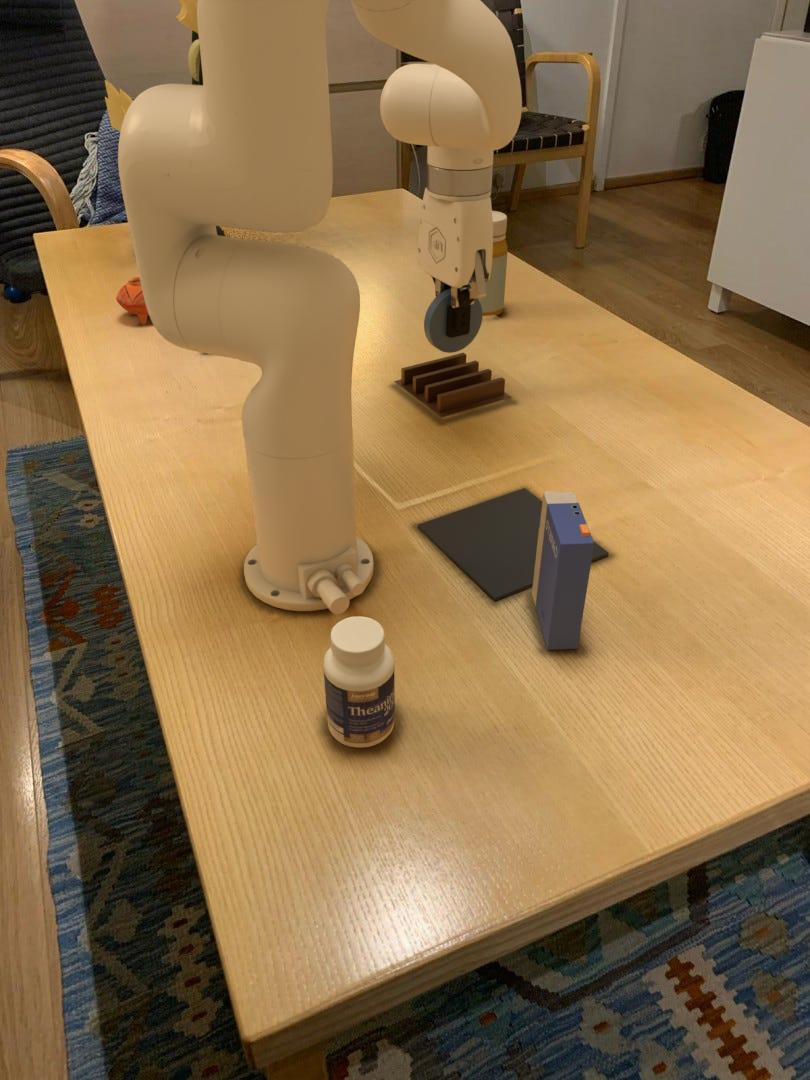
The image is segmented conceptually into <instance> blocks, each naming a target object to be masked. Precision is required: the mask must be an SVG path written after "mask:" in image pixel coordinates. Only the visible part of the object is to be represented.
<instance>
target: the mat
mask: <svg viewBox="0 0 810 1080" xmlns="http://www.w3.org/2000/svg"><path fill="white" fill-rule="evenodd" d="M542 502H543V500H541V499H539V498H538V496H536V495H534V493H533V492H531V491H529V490H528V489H527V488H525V487H523V488H521V489H517V490H515V491H512V492H508V493H506V494H503V495H500V496H496V497H493V498H491V499H488V500H485V501H481V502H480V503H476V504H474V505H471V506H467V507H464V508H462V509H459V510H456V511H453V512H451V513H447V514H444V515H441V516H438V517H435V518H433V519H429V520H427V521H424V522H421V523H418V524H417V529H418V530H419V531H420V532H422V533H423V534H424V536H426V537H427V538H428V539H429V540H430V541H431V542H432V543H433V544H434V545H435V546H436V547H437V548H439V550H440V551H441V552H442V553H444V554H445V555H446V557H448V558H449V559H450V560H451V561H452V562H453V563H454V564H455V565H456V566H457V567H458V568H459V569H460V570H461V571H462V572H463V573H464V574H466V575H467V577H468V578H470V579H471V580H472V581H473V582H474V583H475V585H477V586H478V587H479V588H480V589H481V590H482V591H483V592H484V593H485V594H486V595H487V596H488V597H489V598H491V600H492V601H494V602H497V601H499V600H502V599H505V598H507V597H509V596H511V595H515V594H516V593H519V592H522V591H524V590H526V589H530V588H531V587H532V588H533V579H534V570H535V561H536V552H537V543H538V534H539V528H540V520H541V511H542ZM608 556H609V551H607V550H606V549H605V548H604V547H602V546H600V544H598V543H597V542H596V541H594V549H593V555H592V561H591V563H594V562H597V561H599V560H601V559H603V558H606V557H608Z"/></svg>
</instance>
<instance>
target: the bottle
mask: <svg viewBox="0 0 810 1080" xmlns="http://www.w3.org/2000/svg"><path fill="white" fill-rule="evenodd" d="M492 219H493V256H492V268H491V275H490V278H489V280H488V282H486V283H485V284H486V292H487V294H486V296H485V297H481V298H478V300H479V301H480V304H481V306H482V312H483V317H485V316H487V317H488V316H496V317H498V316H500V314H501V313H502V312H503V311H504V306H505V293H506V292H505V291H506V279H507V265H508V253H509V252H508V251H509V249H508V247H509V246H508V244H507V240H506V237H507V235H506V234H507V227H508V226H507V225H508V215H507V214H505V213H504V212H501V211H497V210H492ZM463 289H466V287H465V288H463Z"/></svg>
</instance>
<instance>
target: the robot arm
mask: <svg viewBox="0 0 810 1080" xmlns="http://www.w3.org/2000/svg"><path fill="white" fill-rule="evenodd" d="M349 1H350V3H351V6H352V8H353V11H354V13H355V16H356V18H357V20H358V22H359V23H360V25H361V26H362V28H363V29H365V31H366V32H368V33H369V34H370V35H372V36H373V37H374V38H375V39H377V40H380V41H381V42H383V43H385V44H387V45H388V46H391V47H393V48H394V49H397V50H399V51H400V52H403V53H405V54H407V55H410V56H412V57H416V58H418V59H420V60H422V61H426V62H428V63H429V64H428V63H409V64H405V65H403V66H400V67H399V68H397V69H396V70H394V71H393V73H391V74H390V76H389V77H388V78H387V80H386V81H385V84H384V86H383V88H382V91H381V95H380V101H379V112H380V118H381V121H382V124H383V126H384V128H385V131H387V133H388V134H389V135H390V136H391V137H393V139H395V140H397V141H400V142H401V143H406V144H410V145H416V146H417V145H418V146H426V147H427V154H426V155H427V156H426V187H425V188H424V192H423V197H422V202H421V208H420V215H419V224H418V225H419V226H418V228H419V229H418V241H417V265H418V266H419V269H421V270H422V271H423V272H424V273H426V274H427V275H429V276H430V277H431V278H432V281H433V284H434V290H435V291H434V296H435V298H436V297H437V296H438V295H439V294H440V293H442V292H443V291H445V290H447V289H450V288H451V306H447V330H446V335H447V336H448V337H449V338H453V337H457V336H462V335H466V334H468V333H469V332H470V315H471V305H473V304H474V300H475V299H476V298H481V297H485V296H486V294H487V292H486V284H485V283H486V282H488V280H489V278H490V275H491V268H492V256H493V219H492V211H493V208H492V207H493V206H492V198H491V195H492V186H493V169H494V154H495V153H494V151H497V150H501V149H503V148H505V147H506V146H507V145H509V144H510V143H511V141H513V139H514V138H515V136H516V134H517V132H518V129H519V126H520V123H521V119H522V110H523V99H522V98H523V97H522V96H523V95H522V85H521V79H520V73H519V68H518V64H517V57H516V53H515V49H514V44H513V42H512V38H511V36H510V34H509V32H508V31H507V28H506V27H505V25H504V24H503V23H502V22H501V20H500V19H499V18H498V17H497V15H495V13H494V12H493V11H492V10H491V9H490V8H489V7H488V6H487V5H486V4H485V3H484V2H483V1H482V0H349ZM329 6H330V0H198V4H197V26H198V35H199V44H200V54H201V65H202V74H203V85H192V84H189V83H187V84H186V83H165V84H157V85H154V86H151V87H149V88H146V89H145V90H143V91H142V92H140V93H139V94H138V95H137V96H136V97H135V99H133V102H132V104H131V105H130V107H129V108H128V110H127V112H126V115H125V117H124V120H123V123H122V127H121V131H119V139H118V148H117V149H118V150H117V164H118V165H117V166H118V173H119V174H118V176H119V181H120V187H121V194H122V199H123V204H124V208H125V214H126V218H127V224H128V229H129V234H130V239H131V243H132V248H133V252H134V258H135V263H136V266H137V273H138V277H140V282H141V287H142V291H143V296H144V300H145V304H146V307H147V310H148V313H149V315H148V316H149V318H150V320H151V323H152V325H153V326H154V328H155V329H156V331H157V332H158V334H159V335H160V336H161V337H162V338H163V339H164V340H165V341H167V342H168V343H170V344H172V345H174V346H176V347H179V348H181V349H185V350H188V351H192V352H197V353H203V354H207V355H213V356H218V357H224V358H230V359H235V360H239V361H241V362H246V363H250V364H254V365H256V366H258V367H259V368H260V370H261V376H260V378H259V380H258V382H257V383H255V385H254V386H253V387H252V389H251V390H250V391H249V393H248V394H247V395H246V397H245V399H244V402H243V407H242V411H241V428H242V436H243V440H244V448H245V449H244V450H245V457H246V465H247V473H248V481H249V489H250V497H251V507H252V515H253V521H254V523H253V524H254V531H255V537H256V544H255V545H254V546H253V547H252V548H251V549H250V551H249V552H248V554H247V555H246V557H245V559H244V563H243V575H244V579H245V584H246V586H247V588H248V590H249V591H250V592H251V594H253V596H255V597H256V598H257V599H259V601H262V602H263V603H265V604H267V605H269V606H271V607H275V608H278V609H282V610H286V611H294V612H315V611H320V610H321V611H322V610H326V609H328V610H329V611H330V612H331V613H332V614H333V615H341V614H343V613H344V612H346V611H347V610H348V609H349V606H350V603H351V601H350V600H352V599H353V598H355V597H358V596H360V595H362V594H363V593H364V591H365V590H366V588H367V586H368V585H369V584H370V583H371V580H372V578H373V575H374V567H375V566H374V555H373V553H372V550H371V548H370V547H369V546H368V544H367V542H365V541H364V540H362V538H360V537H359V536H357V535H358V533H357V532H358V531H357V509H356V508H357V507H356V484H355V483H356V481H355V457H354V456H355V454H354V434H353V433H354V431H353V409H352V407H353V406H352V404H353V403H352V388H353V387H352V384H353V382H352V381H353V366H354V365H353V364H354V355H355V347H356V341H357V333H358V327H359V326H358V325H359V321H360V312H361V293H360V287H359V285H358V281H357V279H356V277H355V275H354V273H353V271H352V270H351V269H350V268H349V267H348V266H347V265H346V264H345V263H344V261H342V260H340V259H339V258H338V257H336V256H334V255H332V254H330V253H328V252H326V251H322V250H319V249H316V248H313V247H308V246H303V245H298V244H291V243H284V242H277V241H270V240H269V241H268V240H262V239H248V238H247V239H246V238H240V237H231V236H226V235H225V236H218V235H217V231H216V226H220V227H221V228H222V227H223V228H229V229H238V230H245V231H252V232H253V231H254V232H264V233H266V232H267V233H279V234H281V233H282V234H295V233H299V232H304V231H308V230H310V229H312V228H314V227H317V226H318V225H319V224H320V222H322V221H323V219H324V218H325V217H326V215H327V213H328V211H329V208H330V205H331V201H332V197H333V196H332V195H333V186H334V184H333V183H334V165H333V164H334V163H333V161H334V159H333V143H332V140H333V139H332V125H331V124H332V123H331V106H330V87H329V85H330V84H329V70H328V48H327V47H328V46H327V45H328V43H327V42H328V41H327V26H328V25H327V23H328V12H329ZM465 287H466V289H463V290H462V291H461V292H460V288H465Z"/></svg>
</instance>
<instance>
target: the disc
mask: <svg viewBox="0 0 810 1080" xmlns="http://www.w3.org/2000/svg"><path fill="white" fill-rule="evenodd" d="M462 290H463V288H460V292H461V291H462ZM447 306H451V288H450V289H447V290H445V291H443V292H442V293H440V294H439V295H438V296H437V297H436V296H435V297H434V298H433V300H432V301H431V302H430V304H429V306H428V307H427V310H426V313H425V316H424V320H423V331H424V335H425V337H426V340H427V341H428V343H429V344H430V345H432V346H433V347H434V348H435V349H437V350H439V351H441V352H442V353H448V354H450V353H457V352H459V351H463V349H466V347H468V346H469V345H470V344H472V342H473V341H474V339H475V338H476V337H477V335H478V333H479V332H480V330H481V327H482V323H483V317H484V316H483V312H482V306H481V304H480V301H479V300H478V298H476V299H475V300H474V304H473V305H471V315H470V332H469V333H468V334H466V335H462V336H457V337H453V338H449V337H448V336H447V335H446V330H447Z"/></svg>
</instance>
